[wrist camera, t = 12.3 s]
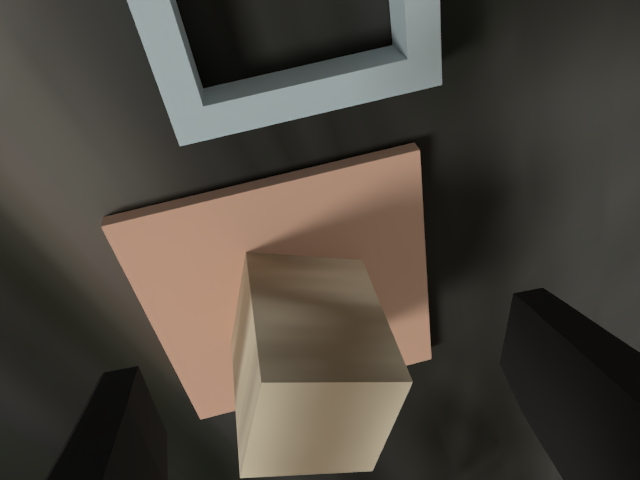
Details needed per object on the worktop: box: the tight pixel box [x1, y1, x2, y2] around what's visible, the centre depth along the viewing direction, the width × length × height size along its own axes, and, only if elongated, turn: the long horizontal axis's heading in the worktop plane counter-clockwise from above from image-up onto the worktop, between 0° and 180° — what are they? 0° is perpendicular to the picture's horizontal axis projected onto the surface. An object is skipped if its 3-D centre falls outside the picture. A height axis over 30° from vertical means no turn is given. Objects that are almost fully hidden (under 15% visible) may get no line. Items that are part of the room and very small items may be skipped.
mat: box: [101, 143, 431, 420], centre depth 21 cm, size 11×11×1 cm
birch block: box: [231, 252, 413, 478], centre depth 18 cm, size 4×4×6 cm
